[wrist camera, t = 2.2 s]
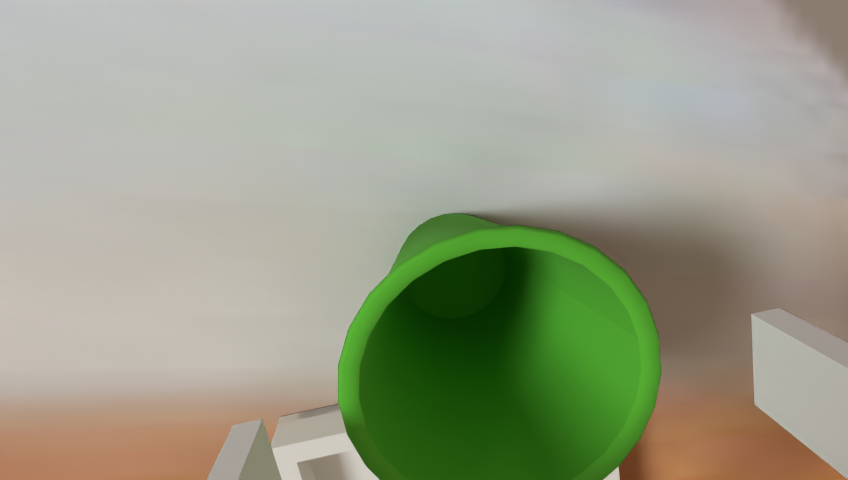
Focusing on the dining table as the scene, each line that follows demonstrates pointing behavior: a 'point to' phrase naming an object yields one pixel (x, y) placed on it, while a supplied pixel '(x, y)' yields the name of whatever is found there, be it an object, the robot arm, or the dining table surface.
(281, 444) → the tray
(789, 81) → the dining table surface
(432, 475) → the cup
